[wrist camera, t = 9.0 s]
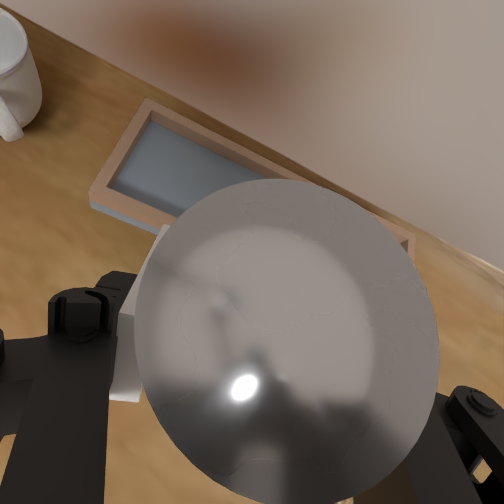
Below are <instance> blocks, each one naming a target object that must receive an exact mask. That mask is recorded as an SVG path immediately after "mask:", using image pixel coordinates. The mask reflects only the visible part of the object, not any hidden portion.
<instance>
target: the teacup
mask: <svg viewBox="0 0 504 504" xmlns="http://www.w3.org/2000/svg"><path fill="white" fill-rule="evenodd" d="M41 103H42V88H41V82H40V79H39V75H38V72H37V68H36V65H35V62H34V59H33V56H32V53H31V51H30V48H29V43H28V37H27V35H26V32H25V30H24V28H23V27H22V25H21V24H20V23H19V21H18V20H17V19H16V18H15V17H13V16H12V15H11V14H10V13H8V12H7V11H5V10H4V9H2V8H0V136H2V138H3V139H4V140H5V141H8V142H12V141H16V140H19V139H21V138H22V137H23V135H24V133H23V131H22V129H21V128H23V127H25V126H26V125H27V124H28V123H30V122H31V121H32V120H33V119H34V118H35V116H36V115H37V113H38V111H39V109H40V106H41Z"/></svg>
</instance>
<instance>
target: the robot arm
mask: <svg viewBox="0 0 504 504" xmlns="http://www.w3.org/2000/svg"><path fill="white" fill-rule="evenodd" d="M170 226H171V225H166V224H163V226H162V228H161V230H160V232H159V234H158V236H157V238H156V240H155V242H154V244H153V246H152V248H151V250H150V252H149V254H148V256H147V258H146V260H145V262H144V264H143V266H142V268H141V270H140V272H139V274H138V275H137V274H131V273H125V272H119V271H112V272H110V273H108V274H106V275H104V276H102V277H101V278H100V280H99V281H98V283H97V284H96V286H95V287H94V288H87V287H83V288H72V289H68V290H64V291H61V292H59V293H58V294H56V295H54V296H53V297H52V298H51V299H50V301H49V302H48V335H45V336H41V337H35V338H26V339H12V340H4V335H3V331H2V330H1V329H0V442H1V440H2V439H3V437H4V436H5V435H11V434H16V433H17V434H16V437H15V440H14V444H13V447H12V450H11V453H10V456H9V460H8V463H7V466H6V469H5V472H4V476H3V479H2V482H1V485H0V504H104V486H105V466H106V447H107V427H108V407H109V399H111V400H120V401H130V402H139V400H140V396H141V392H142V389H143V383H142V380H141V377H140V374H139V369H138V363H137V358H136V353H135V340H134V318H135V307H136V300H137V295H138V291H139V286H140V282H141V279H142V276H143V274H144V271H145V268H146V266H147V263H148V260H149V258H150V257H151V255H152V253H153V251H154V249H155V248H156V246H157V244H158V242H159V241H160V239H161V238H162V237H163V235H164V234H165V233H166V231H167V230H168V229H169V227H170ZM109 390H110V395H109ZM483 459H484V460H485V462H486V463H487V464H488V466H489V467H490V468H491V470H492V472H491V473H490V475H489V476H488V477H487V479H486V480H485V481H484V482H483V483H480V482H479V481H478V480H477V479H476V478H475V476H474V475H473V474H472V473H473V472H474V471H475V469H476V468H477V467H478V465H479V464H480V463H481V461H482V460H483ZM353 504H504V409H503V408H502V407H501V406H499V405H498V404H497V403H496V402H495V401H494V400H493V399H491V398H490V397H488V396H487V395H486V394H485V393H483V392H481V391H479V390H477V389H474V388H471V387H467V386H457V387H456V388H455V389H454V390H453V392H452V393H451V395H450V397H448V396H445V395H442V394H440V393H437V392H436V394H435V399H434V403H433V406H432V409H431V412H430V415H429V417H428V420H427V423H426V425H425V427H424V429H423V431H422V433H421V435H420V437H419V439H418V440H417V442H416V443H415V445H414V446H413V448H412V449H411V450H410V452H409V453H408V455H407V456H406V458H405V459H404V460H403V461H402V462H401V463H400V464H399V465H398V466H397V467H396V468H395V469H394V470H393V471H392V472H391V473H390V474H389V475H388V476H386V477H385V478H384V479H382V480H381V481H380V482H379V483H377V484H376V485H375V486H373V487H371V488H370V489H368V490H366V491H364V492H362V493H360V494H358V495H356V496H354V497H353Z"/></svg>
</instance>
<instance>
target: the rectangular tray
mask: <svg viewBox="0 0 504 504" xmlns="http://www.w3.org/2000/svg"><path fill="white" fill-rule="evenodd" d="M259 179H288V180H297V181H302V182H306V183H311V184H314V185H317V184H315V183H313V182H311V181H309V180H307V179H305V178H303V177H301V176H299V175H297V174H295V173H293V172H291V171H289V170H287V169H285V168H283V167H281V166H280V165H278V164H276V163H274V162H272V161H270V160H268V159H266V158H264V157H262V156H260V155H258V154H256V153H254V152H252V151H250V150H248V149H246V148H244V147H242V146H240V145H238V144H236V143H235V142H233V141H231V140H229V139H227V138H225V137H223V136H221V135H219V134H217V133H215V132H213V131H211V130H209V129H207V128H205V127H203V126H201V125H199V124H197V123H195V122H193V121H191V120H190V119H188V118H186V117H184V116H182V115H180V114H178V113H176V112H174V111H172V110H170V109H168V108H166V107H164V106H162V105H160V104H158V103H156V102H154V101H152V100H150V99H148V98H145V99H144V101H143V102H142V104H141V106H140V107H139V109H138V111H137V112H136V114H135V115H134V117H133V119H132V120H131V122H130V124H129V125H128V127H127V128H126V130H125V132H124V133H123V135H122V136H121V138H120V140H119V141H118V143H117V145H116V146H115V148H114V149H113V151H112V153H111V154H110V156H109V158H108V159H107V161H106V162H105V164H104V166H103V167H102V169H101V171H100V172H99V174H98V175H97V177H96V179H95V180H94V182H93V184H92V185H91V187H90V188H89V190H88V195H89V200H90V205H91V208H93V209H96V210H98V211H100V212H103V213H105V214H107V215H110V216H112V217H115V218H117V219H119V220H122V221H124V222H127V223H129V224H131V225H134V226H136V227H139V228H141V229H143V230H146V231H148V232H151V233H153V234H155V235H158V234H159V232H160V230H161V228H162V226H163V224H166V225H172V224H173V223H174V222H175V221H176V220H177V219H178V218H179V217H180V216H181V215H182V214H183V213H184V212H185V211H186V210H188V209H189V208H190V207H192V206H193V205H194V204H195V203H197V202H198V201H200V200H201V199H203V198H205V197H207V196H208V195H210V194H212V193H214V192H216V191H218V190H221V189H223V188H226V187H228V186H231V185H234V184H238V183H242V182H246V181H252V180H259ZM317 186H319V185H317ZM320 187H321V186H320ZM363 209H364V208H363ZM365 210H366V209H365ZM366 211H367V212H369V213H370V214H371V215H373V216H374V217H375V218H376V219H377V220H378V221H379V222H381V223H382V224H383V225H384V226H385V227H386V228H387V229H388V230H389V231H390V232H391V234H392V235H393V236H394V237H395V238H396V239H397V240H398V242H399V243H400V244H401V246H402V247H403V248H404V250H405V251H406V252H407V254H408V255H409V257H410V258H411V260H412V262H413V263H414V257H415V243H416V235H415V234H413V233H411V232H409V231H407V230H405V229H403V228H401V227H399V226H397V225H395V224H393V223H391V222H389V221H387V220H385V219H383V218H381V217H379V216H377V215H375V214H373V213H371V212H370V211H368V210H366Z"/></svg>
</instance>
